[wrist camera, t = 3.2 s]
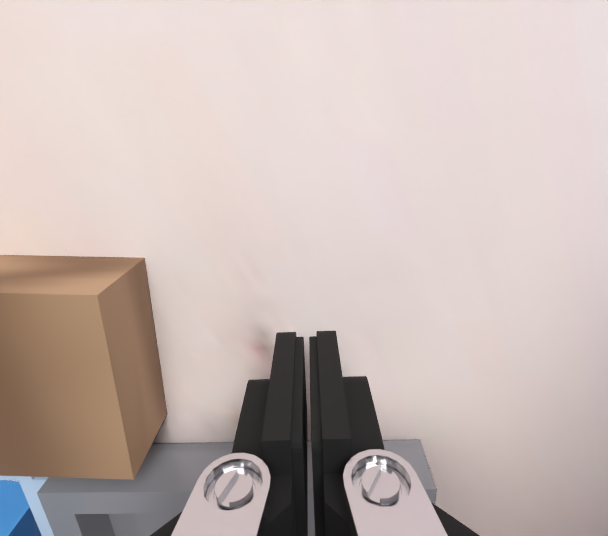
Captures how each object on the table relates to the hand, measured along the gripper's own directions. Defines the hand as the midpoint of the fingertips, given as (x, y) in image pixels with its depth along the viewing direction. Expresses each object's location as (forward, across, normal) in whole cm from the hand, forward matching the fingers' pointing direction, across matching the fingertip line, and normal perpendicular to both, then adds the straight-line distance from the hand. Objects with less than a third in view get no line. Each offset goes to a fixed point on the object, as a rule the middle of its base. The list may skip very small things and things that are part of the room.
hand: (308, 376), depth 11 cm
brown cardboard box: (+2, +8, 0) cm, 8 cm away
